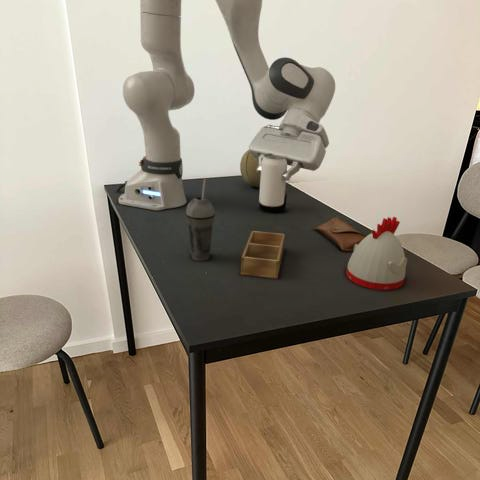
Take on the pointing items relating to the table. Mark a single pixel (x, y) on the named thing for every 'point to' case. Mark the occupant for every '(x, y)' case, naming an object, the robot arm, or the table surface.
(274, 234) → the organizer
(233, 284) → the table surface
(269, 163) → the can
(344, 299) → the table surface
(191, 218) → the beverage cup
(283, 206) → the ink bottle
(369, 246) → the kitchen timer
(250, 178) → the cantaloupe
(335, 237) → the sunglasses case
